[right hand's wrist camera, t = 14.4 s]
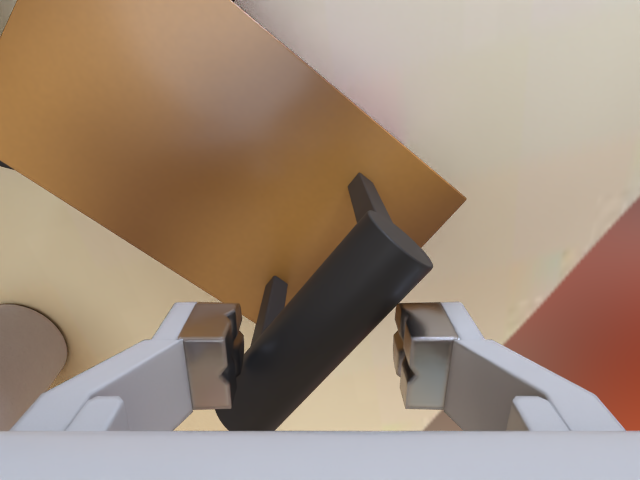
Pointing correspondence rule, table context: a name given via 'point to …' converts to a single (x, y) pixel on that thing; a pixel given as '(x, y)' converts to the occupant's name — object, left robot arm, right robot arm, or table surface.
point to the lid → (224, 174)
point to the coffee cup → (26, 360)
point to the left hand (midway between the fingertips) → (165, 96)
